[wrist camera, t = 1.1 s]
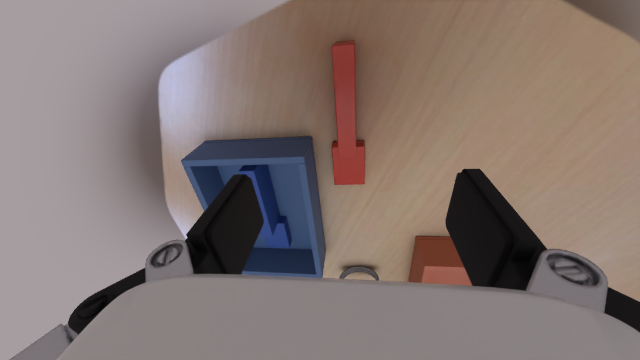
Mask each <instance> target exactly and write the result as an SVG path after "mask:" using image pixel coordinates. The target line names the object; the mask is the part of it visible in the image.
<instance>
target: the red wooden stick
mask: <svg viewBox="0 0 640 360" xmlns="http://www.w3.org/2000/svg"><path fill="white" fill-rule="evenodd" d="M332 57H333V73H334V89H335V105H336V122H337V138H338V142H333V144H332V157H333V170H334V183H335V185H347V184H365V144H364V141H356V93H355V41H354V40H353V41H344V42H336V43H335V44H334V45H333V46H332Z"/></svg>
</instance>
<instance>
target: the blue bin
mask: <svg viewBox="0 0 640 360" xmlns="http://www.w3.org/2000/svg"><path fill="white" fill-rule="evenodd" d="M181 162H182V164H183V166H184V169H185V171H186V173H187V176H188V178H189V180H190V182H191V184H192V186H193V188H194V190H195V193H196V195H197V197H198V199H199V201H200V203H201V205H202V207H203V210H204V212H205V210H206V209H207V208H208V206H209V205H210V204H211V203H212V201H213V200H214V199H215V198H216V196H217V195H218V194H219V192H220V191H221V190H222V189H223V187H224V186H225V185H226V184H227V182H228V181H229V180H230V178H231V177H232V176H233V175H235V174H239V170H240V169H241V168H242V166H243V165H265V164H268V168H269V172H270V176H271V180H272V184H273V188H274V192H275V196H276V200H277V204H278V208H279V212H280V216H286V217H287V221H288V225H289V230H290V234H291V238H292V242H291V245H290V248H274V247H267V245H266V242H265V239H264V236H260V235H259V236H258V238H257V240H256V242H255V244H254V247H253V249H252V251H251V253H250V256H249V258H248V260H247V262H246V265H245V267H244V269H243V271H242V274H245V275H266V276H289V277H312V278H322V277H323V269H324V261H325V253H326V247H325V239H324V231H323V223H322V215H321V207H320V199H319V191H318V183H317V175H316V167H315V159H314V151H313V143H312V136H309V137H287V138H264V139H242V140H219V141H205V142H203V143H202V144H201V145H200V146H198V147H197V148H196V149H195V150H193V151H192V152H191V153H190V154H188V155H187V156H186V157H185V158H183V159H182V160H181Z"/></svg>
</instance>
